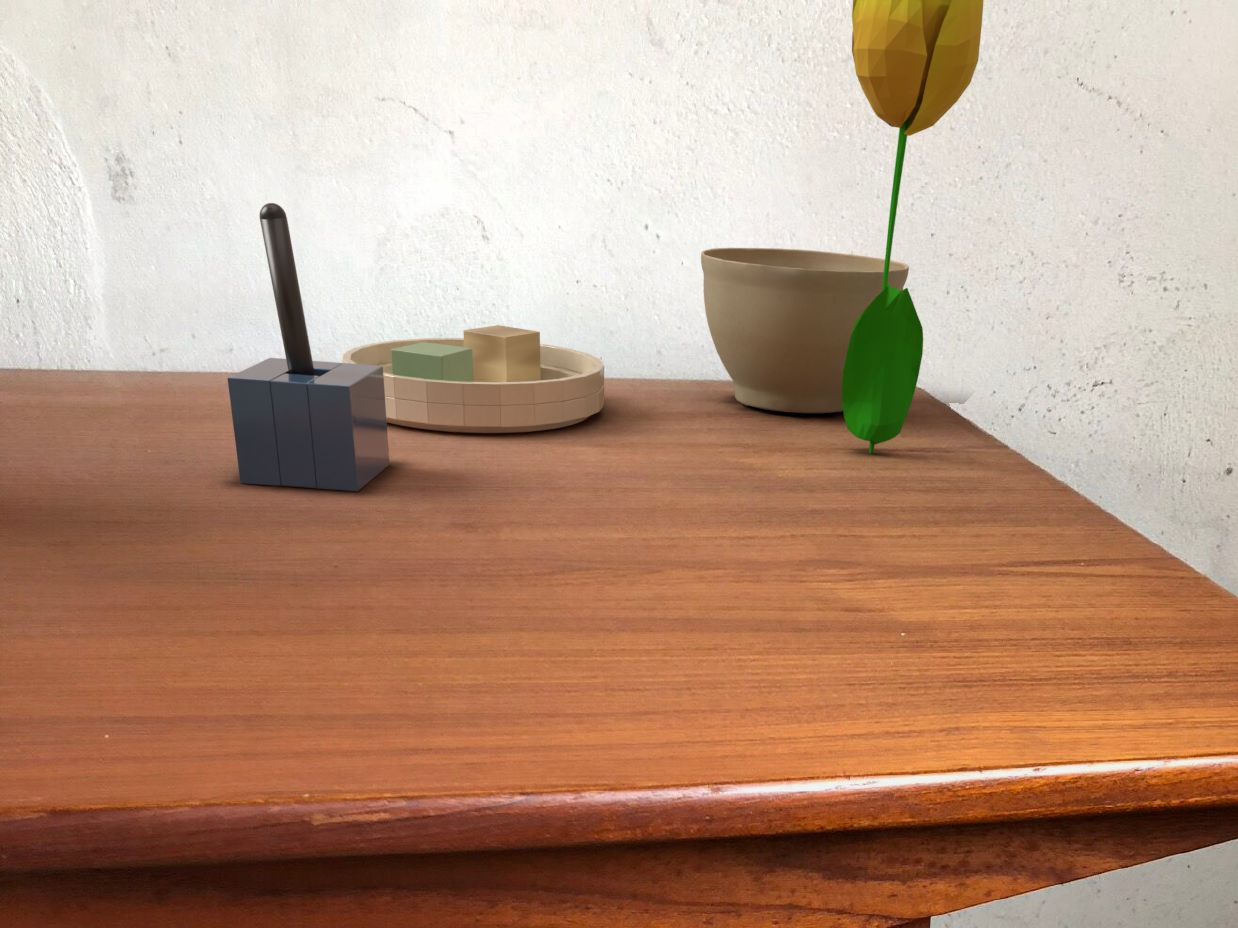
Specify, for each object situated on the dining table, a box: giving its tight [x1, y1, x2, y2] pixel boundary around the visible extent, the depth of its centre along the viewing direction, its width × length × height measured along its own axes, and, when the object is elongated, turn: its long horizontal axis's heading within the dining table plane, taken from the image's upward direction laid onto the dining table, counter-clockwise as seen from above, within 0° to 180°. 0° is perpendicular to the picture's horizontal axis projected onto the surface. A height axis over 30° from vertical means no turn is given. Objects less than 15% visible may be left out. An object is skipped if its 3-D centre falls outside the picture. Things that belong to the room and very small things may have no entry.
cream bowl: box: [341, 337, 605, 434], centre depth 107 cm, size 19×19×4 cm
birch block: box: [462, 324, 541, 382], centre depth 111 cm, size 4×4×4 cm
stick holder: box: [227, 357, 391, 492], centre depth 87 cm, size 7×7×6 cm
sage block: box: [391, 342, 474, 382], centre depth 102 cm, size 4×4×4 cm
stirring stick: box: [258, 202, 315, 376], centre depth 84 cm, size 2×2×15 cm
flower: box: [842, 0, 984, 454], centre depth 94 cm, size 9×8×30 cm
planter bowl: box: [700, 247, 910, 414], centre depth 112 cm, size 16×16×11 cm
